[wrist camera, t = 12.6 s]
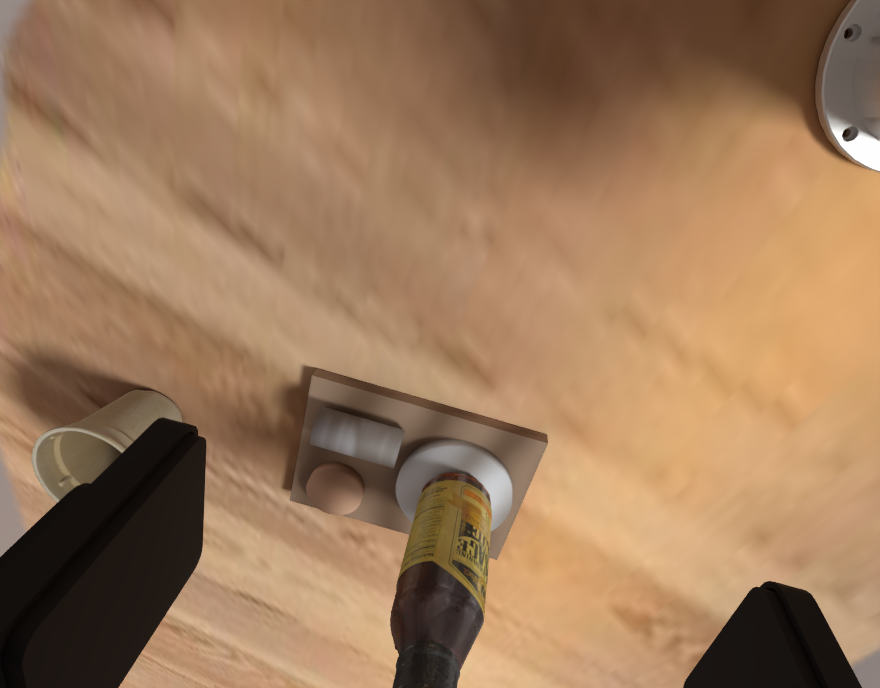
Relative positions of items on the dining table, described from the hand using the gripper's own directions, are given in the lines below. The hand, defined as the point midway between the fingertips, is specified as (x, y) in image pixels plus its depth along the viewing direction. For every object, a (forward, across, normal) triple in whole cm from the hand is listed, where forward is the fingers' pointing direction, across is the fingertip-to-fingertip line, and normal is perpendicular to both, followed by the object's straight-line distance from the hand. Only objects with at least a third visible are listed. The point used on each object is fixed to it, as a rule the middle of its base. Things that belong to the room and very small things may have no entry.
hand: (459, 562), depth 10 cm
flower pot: (+33, +26, +28) cm, 50 cm away
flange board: (+33, +2, +26) cm, 42 cm away
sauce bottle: (+31, -3, +26) cm, 40 cm away
